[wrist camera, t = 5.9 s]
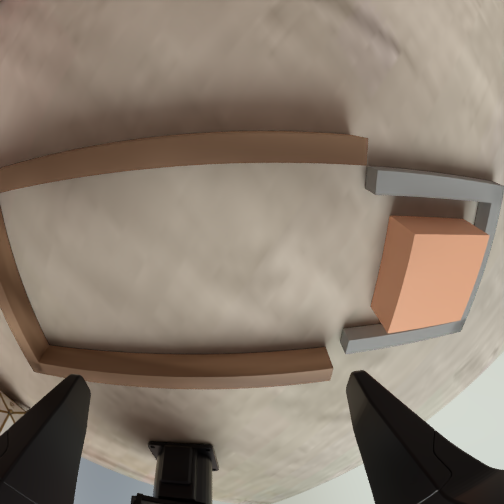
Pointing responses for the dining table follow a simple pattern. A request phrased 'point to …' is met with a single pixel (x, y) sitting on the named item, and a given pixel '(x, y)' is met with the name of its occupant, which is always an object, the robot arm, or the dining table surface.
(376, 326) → the grey bay
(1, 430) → the game die
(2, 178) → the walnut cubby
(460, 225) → the terracotta block
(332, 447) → the dining table surface
